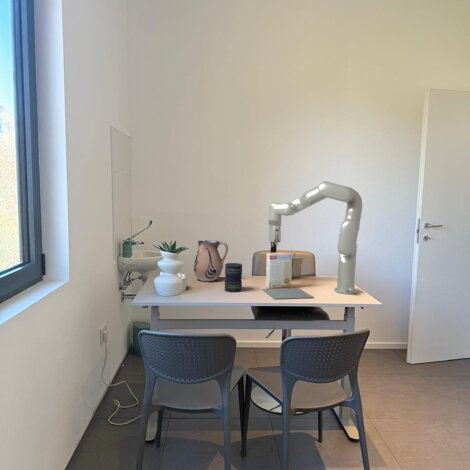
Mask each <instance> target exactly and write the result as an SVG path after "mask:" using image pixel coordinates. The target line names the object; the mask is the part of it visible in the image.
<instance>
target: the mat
mask: <svg viewBox="0 0 470 470" xmlns="http://www.w3.org/2000/svg"><path fill="white" fill-rule="evenodd" d="M262 291H263V292H264V293H265V294H267V295H268V296H269V297H271V298H272V299H273V300H275V301H276V300H299V299H301V300H302V299H314V296H312V295H311V294H309V293H308V292H305V290H303V289H301V288H299V287H291V288H280V289H268V288H262Z"/></svg>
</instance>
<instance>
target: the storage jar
mask: <svg viewBox="0 0 470 470" xmlns="http://www.w3.org/2000/svg"><path fill="white" fill-rule="evenodd" d="M224 275H225V276H224V277H225V278H224V292H226V293H240V292H242V288H243V287H242V286H243V284H242V283H243V282H242V281H243V280H242V276H243V263H239V262H229V263H225V264H224Z"/></svg>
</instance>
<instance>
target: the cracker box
mask: <svg viewBox="0 0 470 470" xmlns="http://www.w3.org/2000/svg"><path fill="white" fill-rule="evenodd" d="M292 258H293V253H291V252H276V253H270V252H266V260H265V261H266V263H265V264H266V267H265V268H266V269H265V270H266V272H265V273H266V275H265V289H280V288H292V278H291V270H292Z"/></svg>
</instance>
